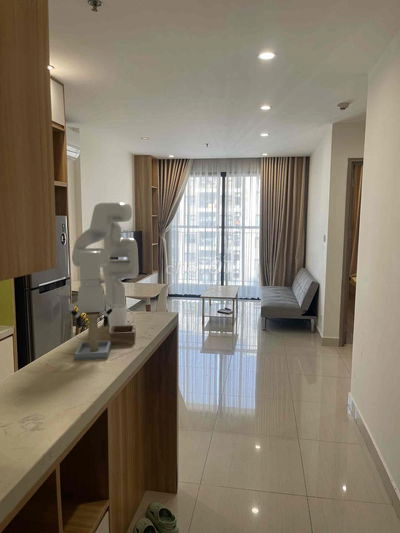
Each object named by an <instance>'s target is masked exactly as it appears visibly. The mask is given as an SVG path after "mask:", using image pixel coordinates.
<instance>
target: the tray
mask: <svg viewBox="0 0 400 533" xmlns="http://www.w3.org/2000/svg"><path fill="white" fill-rule="evenodd" d="M111 350H112V345H111V341H110V340H99V344H98V350H97V351H90V348H89V341H81V342H79V345H78V347H77V348H76V350H75V352H74V354H73V355H74V361H92V360H108V358H109V355H110V352H111Z"/></svg>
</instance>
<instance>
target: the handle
mask: <svg viewBox="0 0 400 533" xmlns="http://www.w3.org/2000/svg"><path fill="white" fill-rule="evenodd" d="M100 313H101V312H94V313H85V318H86V319H88V327H87V328H88V332H87V333H88V334H87V337H88V339H87V340H88V342H89V348H90V351H97V350H98V344H99V341H100V340H99V338H100V337H99V324H98V319H99V318H100V315H101V314H100Z"/></svg>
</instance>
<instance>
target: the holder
mask: <svg viewBox="0 0 400 533" xmlns="http://www.w3.org/2000/svg"><path fill="white" fill-rule="evenodd" d="M136 332H137V329H136V325H135V324H134V325H133V324H131V325H127V326H112V329H111V332H110V333H109V341H111V346H123V345H124V346H125V345H135V344H136V337H137V334H136Z"/></svg>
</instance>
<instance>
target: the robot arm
mask: <svg viewBox="0 0 400 533" xmlns="http://www.w3.org/2000/svg"><path fill="white" fill-rule="evenodd" d="M132 216H133V209H132V207H131V205H130V203H127V202H100V203H97V204H95V205H94V208H93V210H92V215H91V221H90V226H89V228H88V229H87V230H84V232H83V233H81V234H80V235H79V236H78V237H77V238H76V240H75V242H74V246H73V250H72V255H71V260H72V261H71V262H72V264H73V265H74V266H75V267H77V268H79V278H80V279H79V280H80V286H79V287H78V289H77V290H78V291H77V301H75V302H74V303H72V304H71V305H68V307H67V308H68V310H69V312H70V313H71V314H72V315H73V317H75V320H76V326H78V327H77V328H78V329H81V328H82V325H83V324H82V314H86V313H94V312H100V313H101V314H103V327H105V328H106V327H107V325H109V314H110V313H111V312H112V310H113V308H114V306H115V305H126V287H125V284H124V283H123V281H122V279H126V280H127V279H135V278H137V277H138V276H139V273H140V272H139V271H140V270H139V252H138V251H139V250H138V243H137V241H136V239H135V238H133V237H123V236H122V227H121V225H120V223H127V222H129V221H130V220H131V219H132ZM101 241H103V245H104V248H97V247H96V248H94V247H93V248H91V247H90V248H87V247H88V246H90V245H93V244H96V243H99V242H101ZM111 258H117V259H111ZM118 258H127V259H118ZM101 268H102V272H103V277H104V278H103V279H102V277H101ZM103 284H104V285H103ZM104 287H105V288H104ZM109 306H110V309H109ZM75 307H77V311H76V310H75V309H74V308H75ZM129 322H130V318H129V317H128V316H127V323H129Z"/></svg>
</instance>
